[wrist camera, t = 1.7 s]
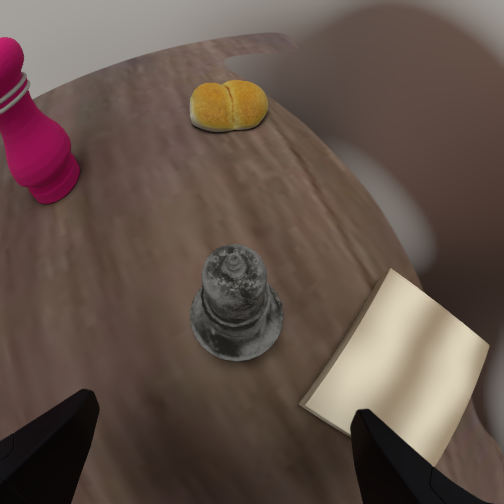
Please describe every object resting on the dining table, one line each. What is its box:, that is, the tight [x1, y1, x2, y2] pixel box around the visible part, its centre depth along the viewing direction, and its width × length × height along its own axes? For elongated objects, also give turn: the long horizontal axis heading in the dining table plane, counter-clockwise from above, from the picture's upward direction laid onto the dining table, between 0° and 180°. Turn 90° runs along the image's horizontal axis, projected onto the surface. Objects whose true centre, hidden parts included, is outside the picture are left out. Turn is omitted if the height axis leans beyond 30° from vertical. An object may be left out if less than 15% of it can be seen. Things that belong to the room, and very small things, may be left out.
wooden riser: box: [298, 268, 489, 467], centre depth 19 cm, size 12×12×2 cm
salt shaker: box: [190, 244, 283, 362], centre depth 17 cm, size 6×6×12 cm
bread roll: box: [190, 80, 268, 132], centre depth 31 cm, size 8×9×4 cm
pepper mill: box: [0, 37, 80, 204], centre depth 19 cm, size 7×7×20 cm
